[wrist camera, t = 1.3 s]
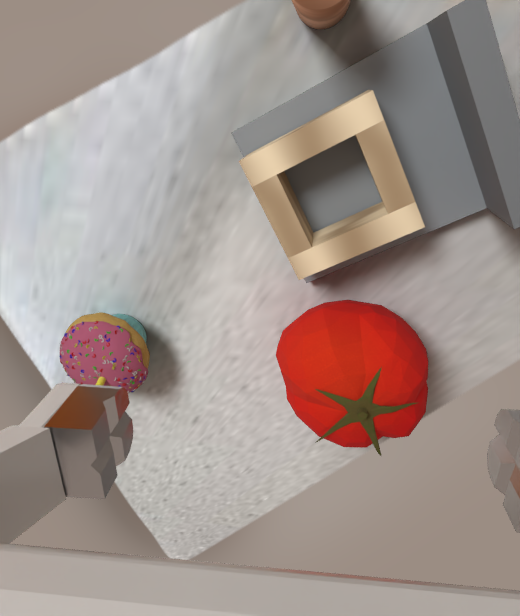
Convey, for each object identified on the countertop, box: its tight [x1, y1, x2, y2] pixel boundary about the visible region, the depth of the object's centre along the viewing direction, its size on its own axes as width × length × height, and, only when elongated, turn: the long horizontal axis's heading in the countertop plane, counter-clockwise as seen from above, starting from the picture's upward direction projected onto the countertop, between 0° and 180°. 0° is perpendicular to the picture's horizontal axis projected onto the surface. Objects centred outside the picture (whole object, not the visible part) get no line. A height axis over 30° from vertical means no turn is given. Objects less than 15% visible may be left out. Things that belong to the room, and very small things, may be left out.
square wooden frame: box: [239, 90, 425, 280], centre depth 35 cm, size 10×10×4 cm
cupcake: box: [60, 313, 150, 393], centre depth 42 cm, size 9×8×12 cm
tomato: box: [276, 300, 428, 455], centre depth 39 cm, size 12×13×12 cm
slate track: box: [232, 0, 520, 283], centre depth 34 cm, size 18×14×8 cm
